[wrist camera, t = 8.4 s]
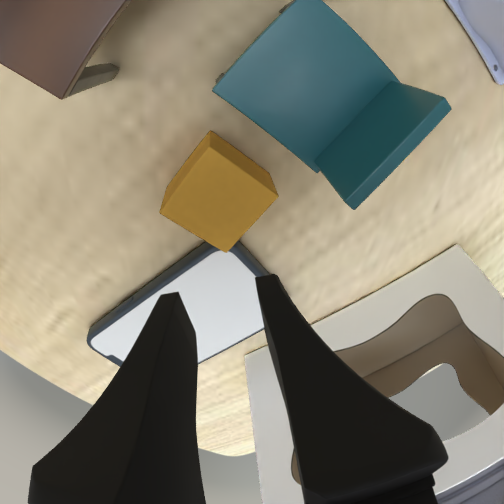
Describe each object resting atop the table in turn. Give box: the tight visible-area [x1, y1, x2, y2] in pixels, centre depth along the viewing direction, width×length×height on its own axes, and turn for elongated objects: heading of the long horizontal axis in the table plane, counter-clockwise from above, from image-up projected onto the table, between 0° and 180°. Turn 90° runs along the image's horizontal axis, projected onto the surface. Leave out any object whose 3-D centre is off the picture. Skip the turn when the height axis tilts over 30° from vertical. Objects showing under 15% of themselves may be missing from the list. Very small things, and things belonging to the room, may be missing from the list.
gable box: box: [244, 244, 504, 504], centre depth 19 cm, size 22×13×28 cm, turn 121°
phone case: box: [87, 241, 287, 367], centre depth 25 cm, size 9×2×16 cm
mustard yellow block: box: [159, 131, 278, 253], centre depth 18 cm, size 4×4×3 cm
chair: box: [212, 0, 451, 210], centre depth 12 cm, size 6×6×8 cm
